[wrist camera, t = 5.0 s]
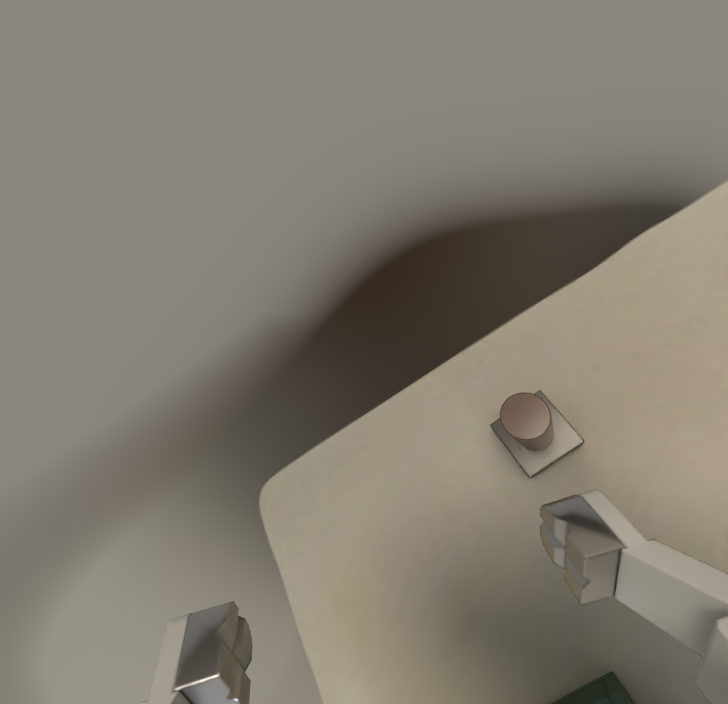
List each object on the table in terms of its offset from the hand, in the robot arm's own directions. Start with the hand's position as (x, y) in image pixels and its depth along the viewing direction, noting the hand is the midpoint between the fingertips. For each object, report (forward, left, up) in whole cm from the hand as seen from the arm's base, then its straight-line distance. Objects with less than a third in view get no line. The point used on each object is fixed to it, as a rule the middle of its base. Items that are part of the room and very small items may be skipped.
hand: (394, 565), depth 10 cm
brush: (-5, -3, -28) cm, 29 cm away
